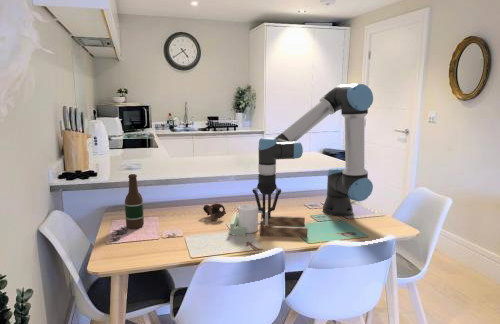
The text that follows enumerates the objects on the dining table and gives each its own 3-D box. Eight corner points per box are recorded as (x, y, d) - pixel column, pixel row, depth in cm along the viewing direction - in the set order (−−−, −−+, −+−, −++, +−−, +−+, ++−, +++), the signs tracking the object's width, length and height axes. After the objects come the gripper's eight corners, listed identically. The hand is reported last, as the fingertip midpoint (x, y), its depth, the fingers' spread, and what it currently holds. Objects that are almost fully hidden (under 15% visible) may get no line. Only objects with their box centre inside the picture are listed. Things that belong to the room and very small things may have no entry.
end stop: (247, 223, 168) (247, 213, 167) (245, 235, 153) (245, 224, 152) (234, 222, 168) (234, 212, 167) (230, 234, 153) (230, 223, 153)
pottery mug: (228, 216, 179) (229, 205, 174) (220, 229, 172) (221, 218, 167) (206, 208, 182) (206, 196, 176) (197, 221, 175) (198, 209, 169)
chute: (304, 225, 166) (304, 212, 165) (307, 237, 151) (307, 224, 150) (261, 223, 167) (261, 211, 166) (260, 235, 153) (260, 222, 152)
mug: (268, 230, 159) (268, 207, 157) (243, 235, 154) (243, 211, 152) (259, 224, 166) (259, 202, 164) (235, 228, 161) (235, 205, 159)
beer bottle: (127, 230, 157) (124, 177, 153) (124, 224, 164) (121, 173, 160) (145, 227, 161) (143, 175, 156) (142, 222, 168) (139, 172, 163)
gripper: (281, 171, 158) (280, 222, 162) (252, 171, 159) (252, 222, 163) (282, 175, 151) (281, 228, 155) (251, 175, 152) (251, 228, 156)
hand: (266, 225), depth 159 cm, fingers closed
